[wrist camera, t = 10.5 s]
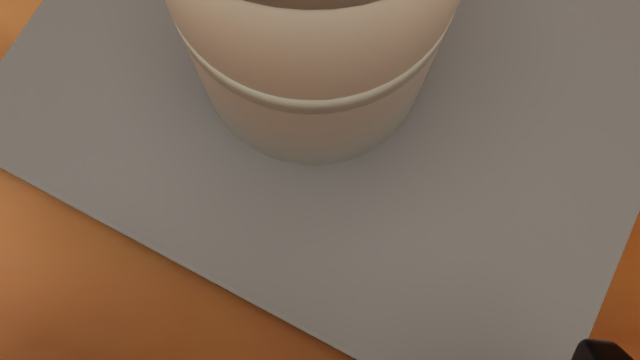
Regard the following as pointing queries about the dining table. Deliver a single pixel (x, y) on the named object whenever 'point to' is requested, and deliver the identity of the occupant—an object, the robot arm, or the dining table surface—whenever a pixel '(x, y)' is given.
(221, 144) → the shelf board
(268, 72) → the tumbler stack
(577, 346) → the robot arm
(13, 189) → the dining table surface
